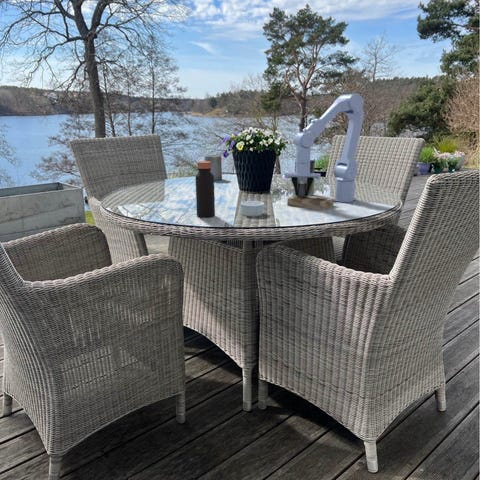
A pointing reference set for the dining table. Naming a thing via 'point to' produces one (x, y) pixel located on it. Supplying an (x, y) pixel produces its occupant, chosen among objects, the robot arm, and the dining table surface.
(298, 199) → the socket block
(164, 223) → the dining table surface
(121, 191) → the dining table surface
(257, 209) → the ramekin
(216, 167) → the pillar candle
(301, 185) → the grey rounded cylinder
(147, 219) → the dining table surface
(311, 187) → the coffee box
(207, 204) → the bottle
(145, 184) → the dining table surface
